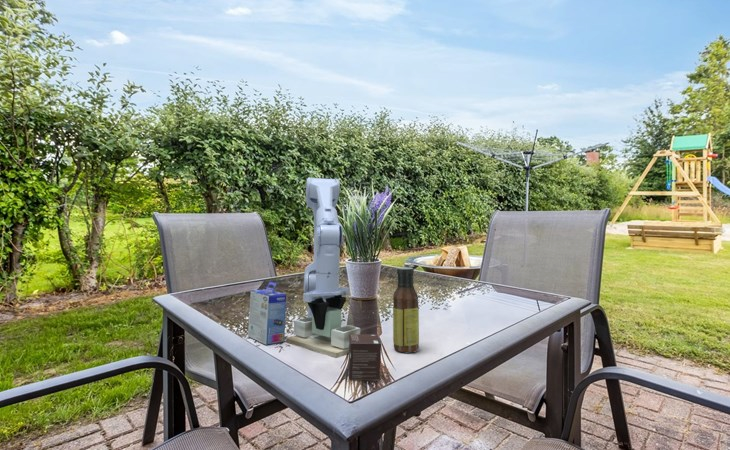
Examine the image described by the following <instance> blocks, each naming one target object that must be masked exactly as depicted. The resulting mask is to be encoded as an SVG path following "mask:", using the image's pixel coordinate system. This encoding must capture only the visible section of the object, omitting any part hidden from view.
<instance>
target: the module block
mask: <svg viewBox="0 0 730 450" xmlns="http://www.w3.org/2000/svg"><path fill="white" fill-rule="evenodd" d="M340 327H342V309H341V310H340V309H338V308H333V307H327V311H326V315H325V326H324V329H323V330H320V329H316V326H315V321H314V317H313V315H312V333H315V334H319V335H323V336H326V337H331V330H333V329H336V328H340Z"/></svg>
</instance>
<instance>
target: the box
mask: <svg viewBox="0 0 730 450" xmlns="http://www.w3.org/2000/svg"><path fill="white" fill-rule="evenodd" d="M381 351H382V342H381V339H380V337H379V335H378V334H376V333H375V334H374V333H373V334H370V333H369V334H361V333H360V334H350V335H349V353H348V365H347V366H348V367H347V368H348V380H349V381H354V382H355V381H380V380H381V359H382V358H381V356H382V352H381Z"/></svg>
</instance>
